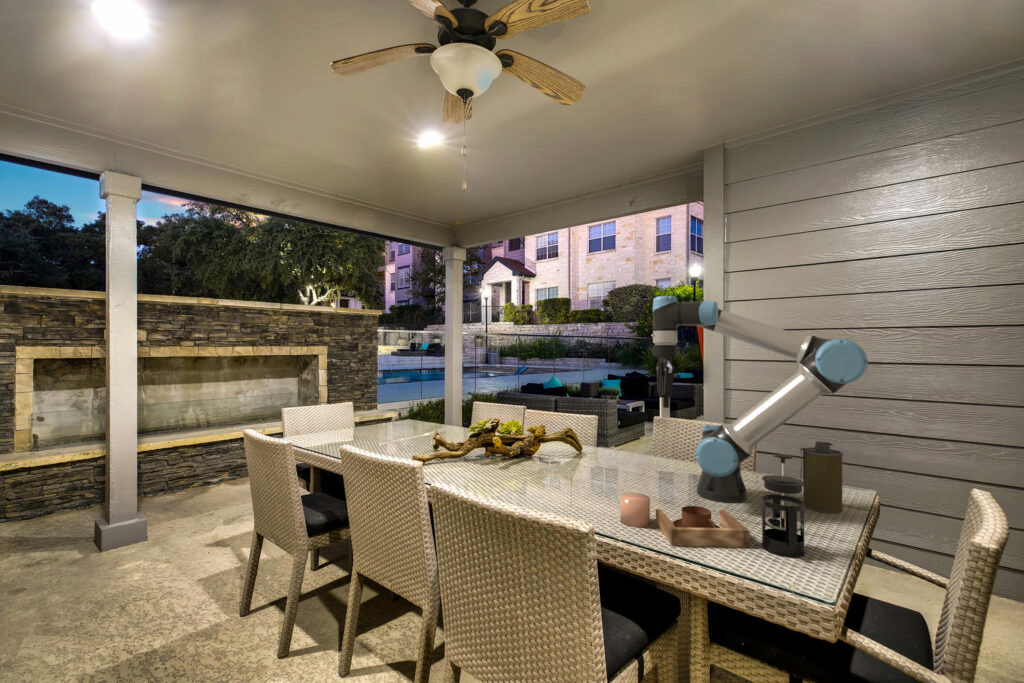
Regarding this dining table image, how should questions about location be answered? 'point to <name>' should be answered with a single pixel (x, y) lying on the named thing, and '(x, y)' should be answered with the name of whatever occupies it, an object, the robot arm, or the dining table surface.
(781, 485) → the french press
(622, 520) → the peach rounded capsule
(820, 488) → the canister
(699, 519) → the cup and saucer
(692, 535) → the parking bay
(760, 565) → the dining table surface
